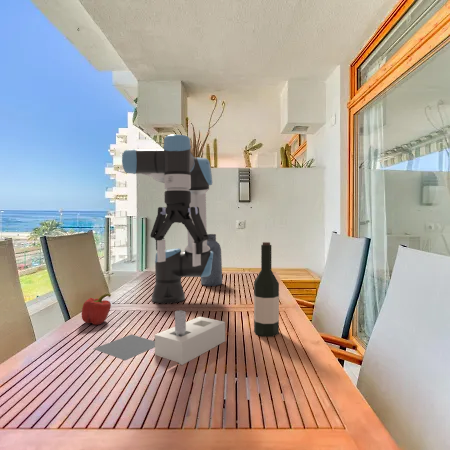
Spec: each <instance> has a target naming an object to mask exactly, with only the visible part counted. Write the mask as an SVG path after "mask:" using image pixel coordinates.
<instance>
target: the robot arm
mask: <svg viewBox="0 0 450 450" xmlns="http://www.w3.org/2000/svg"><path fill="white" fill-rule="evenodd" d="M163 140H164V141H163V148H161V149H159V148H158V149H144V148H143V149H142V148H141V149H136V148H132V149H126V150H124V151H123V153H122V156H121V164H122V169H123V171H124V173H126V174H132V175H138V174H141V175H145V176H148V177H152V178H153V180H155V181H157V182H160V183H163V184H164V189H165V191H164V204H165V205H166V206H165V207H164V206H163V207H161V206H159V207H158V208H157V215H156V217H155V219H154V220H155V221H154V223H153V227H152V228H151V229H152V230H151V232H150V238H152V239H154V240H155V250H156V253H155V258H154V259H155V260H154V264H155V265H154V267H155V273H154V274H155V284H154V287H153V292H152V294H151V302H154V303H158V304H174V303H179V302H183V301H184V300H185V298H186V294H185V291H184V288H183V284H182V278H194V277H195V278H201V277H208V276H209V275H210V274H211V268H212V260H213V252H212V251H210V247H209V246H208V245H207V240H208V239H209V237H208V234H209V233H208V232H207V231H208V230H207V196H206V195H207V194H206V193H208V191H209V190H210V186H212V185H213V176H212V175H213V174H212V169H211V168H212V167H211V163H210V160H209V159H208V158H206V157H195V156H194V155H193V153H191V152H192V151H191V148H192V145H191V138H190V137H189V136H188V135H185V134H168V135H166V136H165V137H164V139H163ZM175 223H177V224H179V223H181V224H182V225H183V226H184V227H185V229H186V230H187V245H186V246H185V247H184V251H182V250H181V248H171V249H166V239H165V237H166V235H167V234H168V232H169V230H170V228H171V227H172V225H173V224H175Z"/></svg>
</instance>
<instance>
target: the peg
mask: <svg viewBox="0 0 450 450" xmlns="http://www.w3.org/2000/svg"><path fill="white" fill-rule="evenodd" d="M186 313H187V312H186V311H185V310H183V309H182V310H181V309H180V310H176V311H174V327H175V335H176V336H179V337H182V336H184V335H186V322H187V321H186V320H187V319H186V318H187V317H186V316H187V315H186Z"/></svg>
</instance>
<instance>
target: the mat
mask: <svg viewBox="0 0 450 450" xmlns="http://www.w3.org/2000/svg"><path fill="white" fill-rule="evenodd" d="M152 349H155V340H153V339H148V338H146V337H141V336H138V335H135V334H129V335H127V336H124V337H121V338H119V339H115V340H112V341H110V342H108V343H105V344H104V343H103V344H102V345H100V346H96V347H94V348H93V350H95V351H99V352H101V353H103V354H107V355H110V356H112V357H115V358H118V359H120V360H123V361H127V360H129V359H131V358H133V357H136V356H139V355H141V354H143V353H144V352H147V351H149V350H152Z"/></svg>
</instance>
